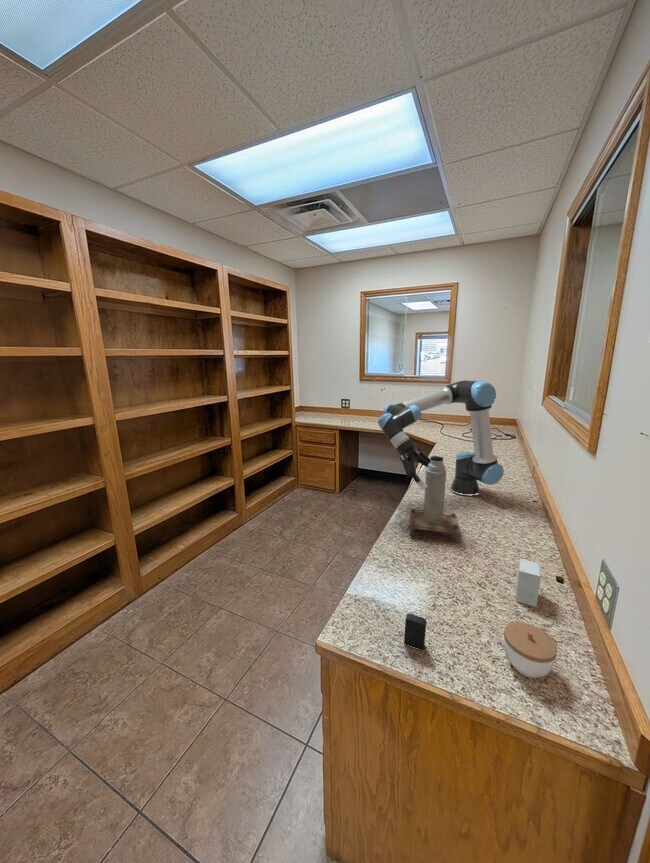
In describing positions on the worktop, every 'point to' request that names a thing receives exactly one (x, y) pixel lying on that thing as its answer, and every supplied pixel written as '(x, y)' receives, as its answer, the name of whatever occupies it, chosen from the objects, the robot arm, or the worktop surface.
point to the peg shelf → (446, 526)
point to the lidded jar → (529, 649)
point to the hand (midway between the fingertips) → (432, 484)
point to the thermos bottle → (434, 491)
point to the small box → (528, 582)
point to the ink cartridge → (415, 631)
